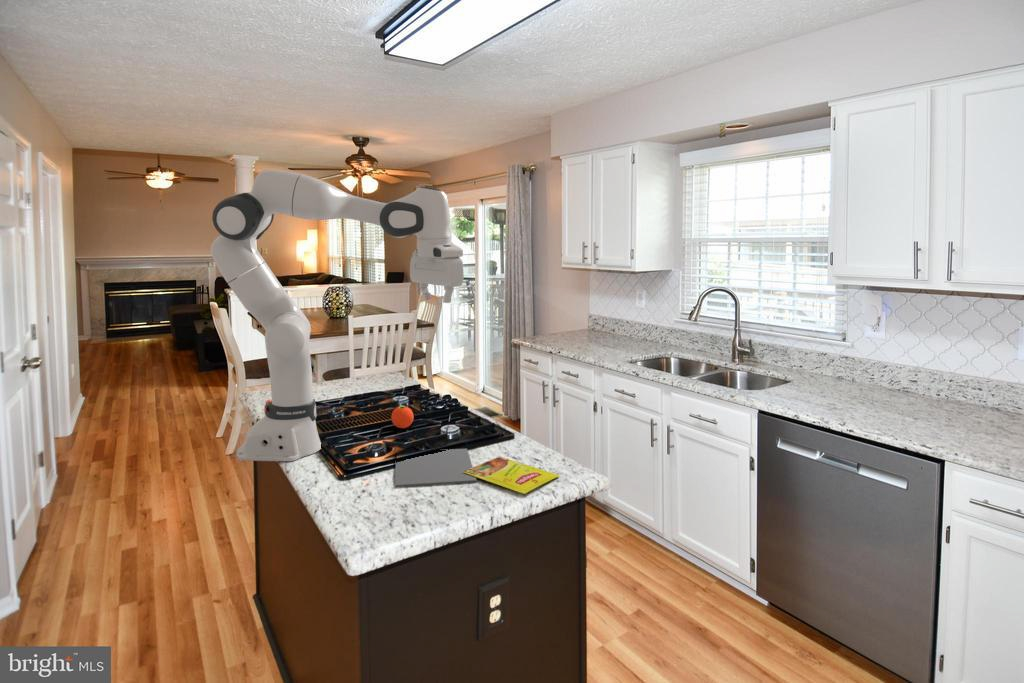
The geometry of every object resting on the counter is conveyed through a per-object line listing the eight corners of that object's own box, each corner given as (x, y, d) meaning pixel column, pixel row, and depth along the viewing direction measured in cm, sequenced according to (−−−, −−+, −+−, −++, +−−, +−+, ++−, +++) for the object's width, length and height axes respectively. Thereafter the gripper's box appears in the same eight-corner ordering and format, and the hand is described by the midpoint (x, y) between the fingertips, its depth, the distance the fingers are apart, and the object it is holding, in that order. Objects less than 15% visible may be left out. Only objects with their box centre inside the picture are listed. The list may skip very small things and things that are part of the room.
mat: (395, 487, 152) (395, 485, 152) (395, 454, 174) (395, 452, 174) (476, 482, 156) (476, 480, 156) (467, 450, 177) (467, 448, 177)
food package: (500, 454, 172) (560, 473, 160) (500, 458, 172) (560, 477, 160) (462, 470, 160) (524, 491, 148) (462, 474, 160) (524, 496, 148)
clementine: (389, 424, 199) (388, 403, 197) (410, 422, 201) (410, 401, 200) (393, 432, 191) (393, 410, 190) (415, 430, 194) (415, 408, 192)
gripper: (403, 249, 171) (405, 298, 174) (447, 251, 156) (449, 306, 159) (422, 247, 175) (424, 296, 178) (466, 250, 160) (468, 303, 163)
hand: (436, 301), depth 168 cm, fingers open, 8 cm apart
